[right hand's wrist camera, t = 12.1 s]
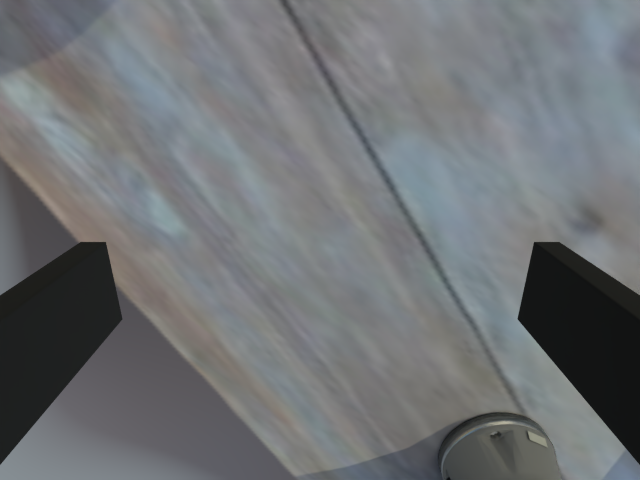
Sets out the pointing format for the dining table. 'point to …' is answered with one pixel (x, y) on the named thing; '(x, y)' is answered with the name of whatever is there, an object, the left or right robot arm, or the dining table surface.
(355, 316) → the dining table surface
